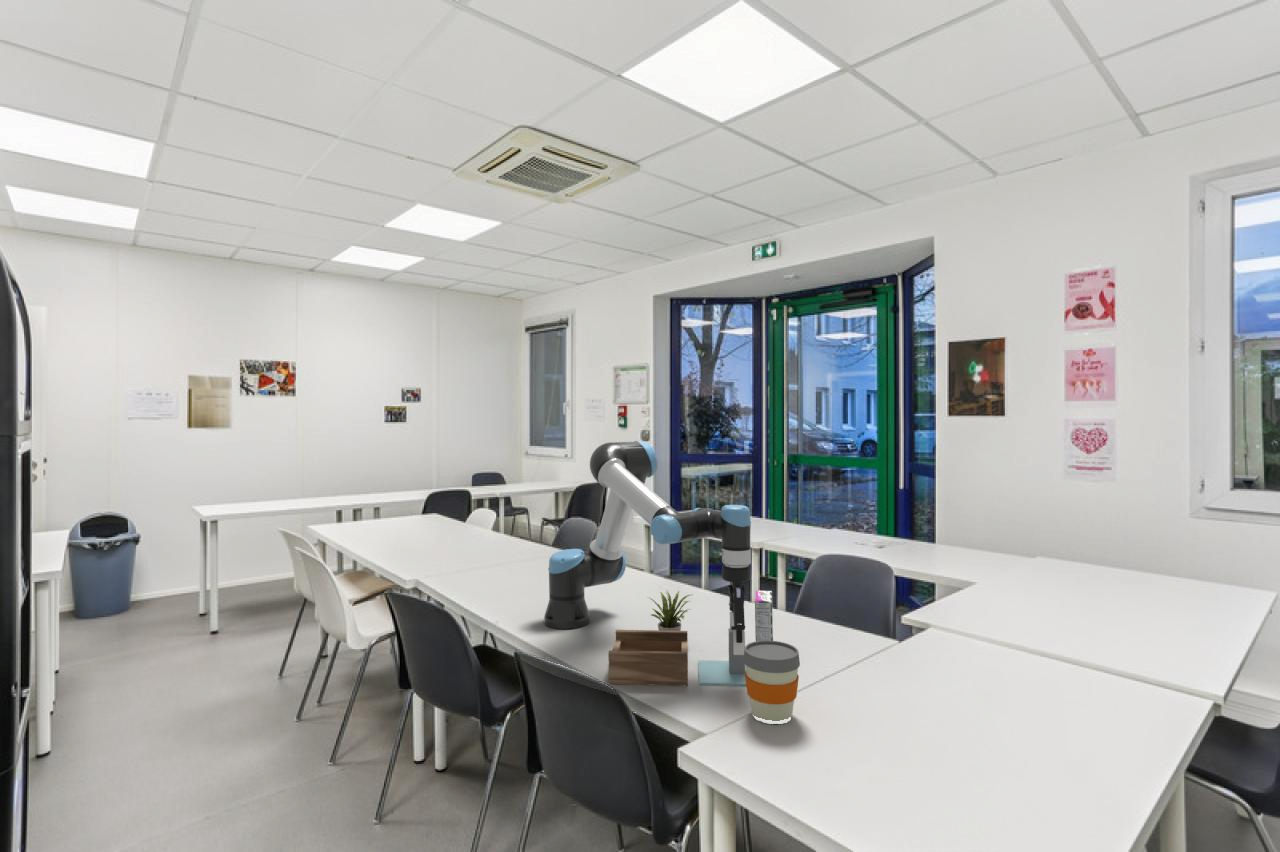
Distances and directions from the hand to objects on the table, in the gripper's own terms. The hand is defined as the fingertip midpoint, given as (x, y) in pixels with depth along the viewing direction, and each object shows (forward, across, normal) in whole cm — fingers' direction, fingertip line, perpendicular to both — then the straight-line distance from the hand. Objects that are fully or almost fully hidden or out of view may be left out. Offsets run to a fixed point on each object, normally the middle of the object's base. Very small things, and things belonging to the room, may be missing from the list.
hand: (736, 644), depth 167 cm
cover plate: (+8, 0, 0) cm, 8 cm away
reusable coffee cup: (+8, +23, +6) cm, 25 cm away
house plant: (+8, -20, -17) cm, 27 cm away
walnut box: (+8, 0, -23) cm, 24 cm away
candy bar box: (+8, -16, +9) cm, 20 cm away
